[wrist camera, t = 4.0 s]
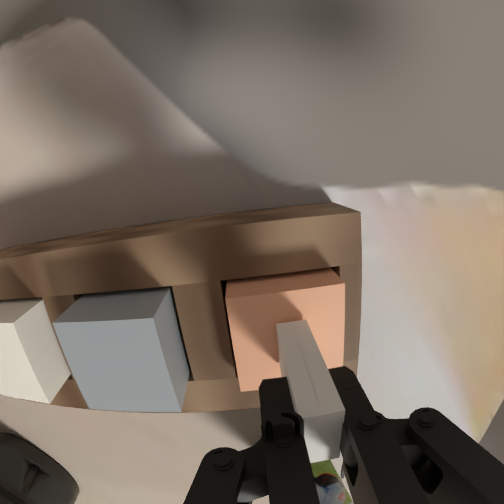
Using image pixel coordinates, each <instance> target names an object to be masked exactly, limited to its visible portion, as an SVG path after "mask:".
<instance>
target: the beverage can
mask: <svg viewBox="0 0 504 504" xmlns="http://www.w3.org/2000/svg"><path fill="white" fill-rule="evenodd" d="M311 467H312V472H313V476H314V480H315V484H316V488H317V492H318V497H319V501H320V504H354V503H353V501H352V500H351V498H350V496H349V494H348V492H347V490H346V489H345V487H344V485H343V483H342V481H341V479H340V477H339V476H338V474H337V472H336V470H335V468H334V466H333V464H332V462H331V461H330V459H329V460H324V461H319V462H314V463H311Z"/></svg>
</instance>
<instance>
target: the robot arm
mask: <svg viewBox="0 0 504 504" xmlns="http://www.w3.org/2000/svg"><path fill="white" fill-rule="evenodd" d="M276 327H277V339H278V351H279V363H280V371H281V376H282V377H279V378H271V379H263V380H262V382H261V384H260V386H259V398H260V409H261V419H262V425H261V430H262V436H261V439H260V440H259V441H258V442H257V443H256V444H255V445H253V446H252V447H249V448H247V449H244V450H241V451H237V450H235V449H232V448H228V447H223V448H217V449H213V450H211V451H210V452H208V453H207V454H206V455H205V456H204V458H203V459H202V462H201V464H200V466H199V469H198V471H197V473H196V476H195V478H194V480H193V483H192V485H191V487H190V489H189V492H188V494H187V496H186V499H185V501H184V503H183V504H252V501H253V500H255V499H258V498H261V497H264V496H266V495H269V501H270V504H320V501H319V497H318V492H317V488H316V484H315V480H314V476H313V472H312V467H311V463H314V462H319V461H324V460H329V459H334V458H339V456H340V450H341V453H342V456H343V464H342V469H341V478H344V474H345V477H346V480H347V483H348V486H349V489H350V493H351V496H352V499H353V502H354V504H504V465H503V464H502V463H501V462H500V461H499V460H497V459H496V458H495V457H494V456H492V455H491V454H490V453H489V452H488V451H486V450H485V449H484V448H483V447H482V446H480V445H479V444H478V443H477V442H475V441H474V440H473V439H472V438H471V437H469V436H468V435H467V434H466V433H465V432H463V431H462V430H461V429H460V428H459V427H457V426H456V425H455V424H454V423H452V422H451V421H450V420H449V419H448V418H446V417H445V416H444V415H443V414H442V413H440V412H439V411H437V410H435V409H433V408H428V407H427V408H420V409H417V410H415V411H414V412H413V413H411V415H410V417H409V419H388V418H385V417H384V416H383V415H382V414H381V413H379V412H377V411H374V409H373V407H372V405H371V404H370V402H369V400H368V398H367V396H366V394H365V392H364V390H363V388H362V387H361V385H360V383H359V381H358V379H357V377H356V375H355V374H354V372H353V371H352V370H350V369H349V368H348V367H346V366H341V367H336V368H331V369H328V368H327V366H326V364H325V361H324V359H323V357H322V354H321V352H320V350H319V348H318V345H317V343H316V341H315V338H314V336H313V334H312V332H311V329H310V327H309V325H308V322H307V320H299V321H292V322H285V323H277V324H276ZM78 494H79V487H78V485H77V483H76V482H75V480H74V479H73V478H72V477H71V476H70V475H69V473H68V472H67V471H65V470H64V469H63V468H62V467H61V466H60V465H59V464H58V463H56V462H55V461H54V460H53V459H51V458H50V457H49V456H47V455H46V454H45V453H43V452H42V451H40V450H39V449H37V448H36V447H34V446H32V445H31V444H29V443H27V442H26V441H24V440H22V439H20V438H18V437H16V436H13V435H11V434H7V433H0V504H74V503H75V501H76V499H77V496H78Z"/></svg>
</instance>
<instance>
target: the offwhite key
mask: <svg viewBox="0 0 504 504" xmlns="http://www.w3.org/2000/svg"><path fill="white" fill-rule="evenodd" d="M70 374H71V373H70V371H69V369H68V366H67V364H66V362H65V359H64V357H63V354H62V352H61V349H60V347H59V344H58V342H57V339H56V336H55V334H54V331H53V328H52V326H51V323H50V320H49V317H48V314H47V311H46V308H45V305H44V302H43V298H42V297H39V298H24V299H9V300H0V394H1V395H6V396H10V397H15V398H20V399H25V400H30V401H36V402H42V403H48V404H50V403H51V402H52V400H53V399H54V397H55V396H56V394H57V393H58V391H59V390H60V389H61V387H62V386H63V384H64V383H65V381H66V380H67V379H68V377H69V376H70Z"/></svg>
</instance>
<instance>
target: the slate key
mask: <svg viewBox="0 0 504 504" xmlns="http://www.w3.org/2000/svg"><path fill="white" fill-rule="evenodd" d="M53 326H54V329H55V332H56V334H57V337H58V340H59V342H60V345H61V347H62V350H63V352H64V355H65V357H66V360H67V362H68V364H69V367H70V369H71V371H72V374H73V376H74V378H75V380H76V382H77V385H78V387H79V389H80V391H81V393H82V395H83V397H84V399H85V401H86V403H87V405H88V407H89V409H98V410H111V411H129V412H182V407H183V402H184V397H185V392H186V387H187V383H188V378H189V373H190V368H189V364H188V360H187V356H186V352H185V348H184V344H183V340H182V336H181V331H180V327H179V323H178V318H177V314H176V309H175V305H174V300H173V295H172V290H171V286H167V287H157V288H147V289H136V290H125V291H114V292H103V293H91V294H83V295H82V296H81V297H80V298H79V299H78V300H77V301H75V302H74V303H73V304H72V305H71V306H70V307H69V308H68V309H67V310H66V311H64V312H63V313H62V314H61V315H60V316H59V317H58V318H57V319H56V320H55V321H54V322H53Z"/></svg>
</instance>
